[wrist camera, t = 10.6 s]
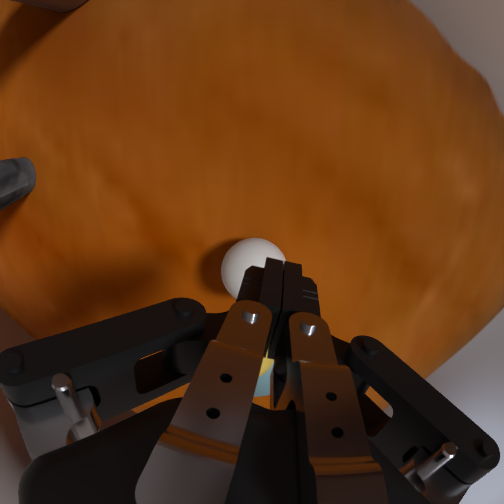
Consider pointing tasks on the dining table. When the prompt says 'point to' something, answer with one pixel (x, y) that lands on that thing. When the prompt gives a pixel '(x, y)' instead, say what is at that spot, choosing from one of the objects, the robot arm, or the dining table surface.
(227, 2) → the dining table surface
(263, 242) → the cue ball
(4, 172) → the beverage cup
